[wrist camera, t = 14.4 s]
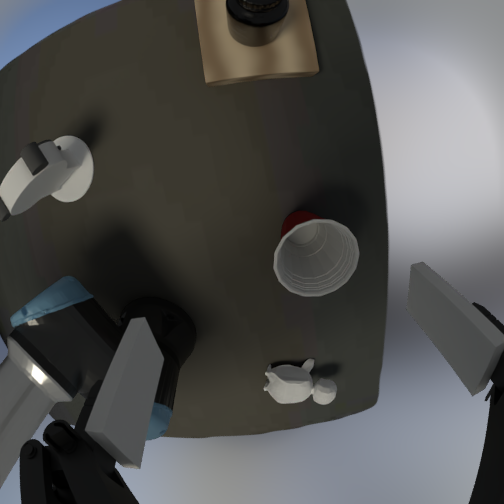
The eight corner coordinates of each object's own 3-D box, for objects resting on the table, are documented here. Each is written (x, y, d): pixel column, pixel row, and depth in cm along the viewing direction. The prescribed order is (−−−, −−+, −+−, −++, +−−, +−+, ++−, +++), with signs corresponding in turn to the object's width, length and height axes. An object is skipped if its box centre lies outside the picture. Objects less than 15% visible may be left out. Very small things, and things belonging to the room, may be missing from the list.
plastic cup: (258, 254, 46) (264, 293, 35) (274, 188, 42) (286, 209, 31) (321, 265, 48) (342, 305, 37) (340, 204, 44) (371, 230, 33)
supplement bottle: (284, 44, 30) (303, 11, 19) (233, 52, 31) (231, 20, 20) (273, 4, 28) (285, -38, 17) (223, 11, 28) (217, -30, 17)
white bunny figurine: (270, 375, 62) (334, 389, 58) (259, 402, 55) (328, 418, 50) (274, 349, 59) (343, 363, 54) (261, 376, 51) (338, 393, 47)
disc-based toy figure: (73, 118, 36) (14, 121, 22) (108, 169, 40) (56, 190, 26) (34, 167, 38) (-23, 186, 24) (66, 214, 42) (14, 247, 28)
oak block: (209, 87, 36) (205, 82, 32) (197, 3, 30) (193, -7, 26) (312, 76, 36) (319, 71, 32) (296, -6, 30) (301, -17, 26)
